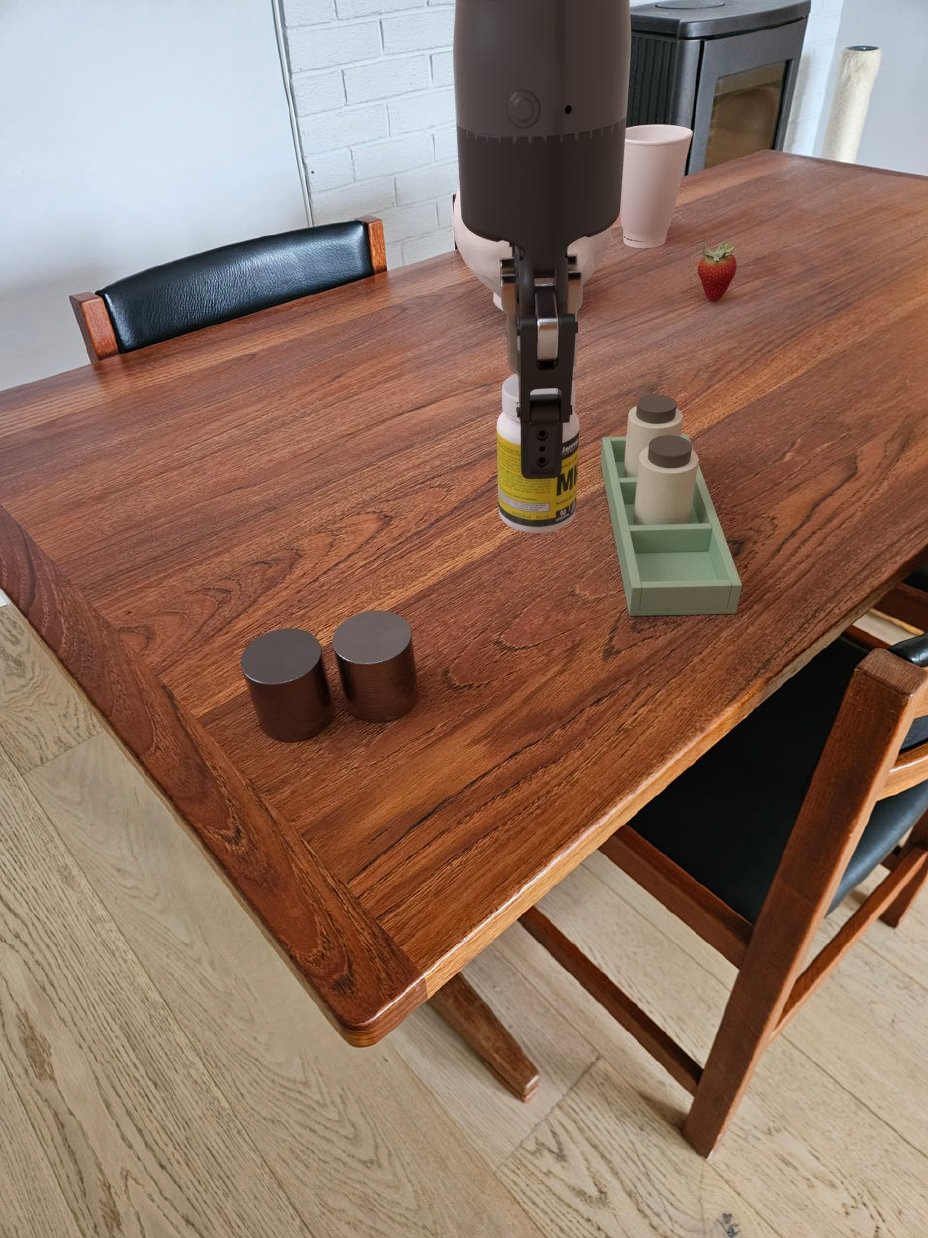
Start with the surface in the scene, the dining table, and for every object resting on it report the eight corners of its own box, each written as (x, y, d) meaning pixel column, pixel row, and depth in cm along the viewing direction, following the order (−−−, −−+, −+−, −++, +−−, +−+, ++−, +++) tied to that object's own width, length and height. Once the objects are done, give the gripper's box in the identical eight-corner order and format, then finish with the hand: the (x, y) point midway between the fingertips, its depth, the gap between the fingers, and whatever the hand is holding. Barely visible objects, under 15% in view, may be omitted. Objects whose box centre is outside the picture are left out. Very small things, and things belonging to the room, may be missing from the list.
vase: (433, 310, 119) (413, 63, 99) (538, 271, 129) (539, 39, 109) (522, 346, 108) (521, 76, 88) (630, 300, 118) (650, 48, 98)
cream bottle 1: (679, 471, 82) (690, 394, 77) (667, 497, 79) (677, 419, 73) (630, 462, 84) (637, 387, 78) (616, 487, 81) (622, 411, 75)
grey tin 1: (348, 697, 62) (336, 639, 58) (308, 751, 58) (292, 692, 54) (286, 678, 64) (270, 620, 60) (243, 729, 60) (223, 671, 56)
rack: (684, 460, 85) (688, 433, 83) (736, 613, 67) (742, 585, 65) (600, 462, 85) (601, 436, 83) (629, 616, 67) (632, 587, 65)
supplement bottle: (567, 540, 48) (571, 408, 42) (489, 530, 49) (484, 400, 44) (582, 496, 51) (589, 368, 46) (509, 487, 53) (507, 362, 47)
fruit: (685, 301, 117) (693, 242, 111) (709, 290, 119) (717, 232, 114) (715, 310, 114) (724, 249, 108) (739, 299, 116) (749, 240, 111)
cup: (684, 252, 132) (697, 139, 122) (609, 253, 134) (616, 142, 123) (677, 229, 141) (689, 122, 131) (607, 231, 142) (613, 125, 132)
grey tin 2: (431, 679, 63) (424, 620, 59) (397, 731, 59) (387, 672, 55) (367, 661, 65) (357, 602, 61) (330, 710, 61) (316, 651, 57)
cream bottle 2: (693, 515, 76) (706, 436, 71) (681, 545, 73) (693, 464, 68) (641, 505, 78) (649, 427, 73) (626, 534, 75) (633, 454, 69)
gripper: (652, 141, 31) (619, 519, 42) (607, 75, 41) (591, 391, 53) (451, 152, 31) (472, 524, 42) (458, 84, 42) (474, 396, 53)
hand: (538, 449), depth 47 cm, fingers closed on supplement bottle, 4 cm apart
